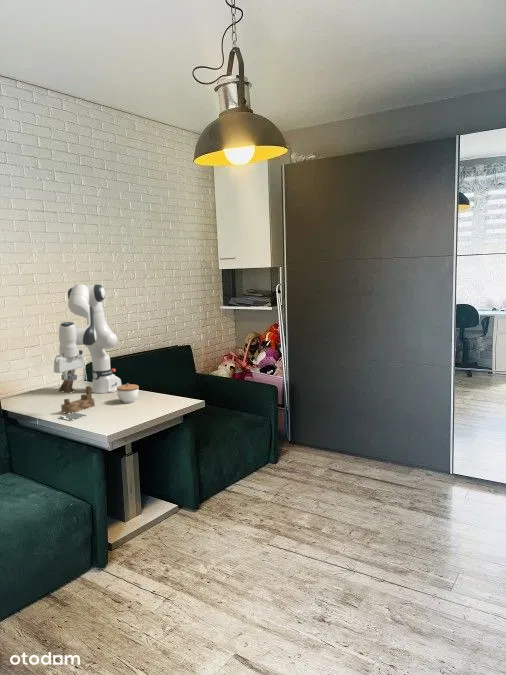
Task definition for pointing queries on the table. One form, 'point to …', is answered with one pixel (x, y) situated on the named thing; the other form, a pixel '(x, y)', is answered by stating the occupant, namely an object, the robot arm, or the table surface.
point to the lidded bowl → (128, 393)
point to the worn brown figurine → (67, 385)
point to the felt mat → (73, 416)
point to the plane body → (79, 402)
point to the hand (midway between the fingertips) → (69, 378)
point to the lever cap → (70, 377)
